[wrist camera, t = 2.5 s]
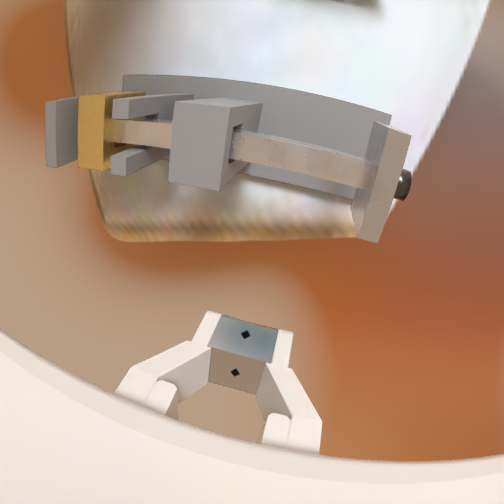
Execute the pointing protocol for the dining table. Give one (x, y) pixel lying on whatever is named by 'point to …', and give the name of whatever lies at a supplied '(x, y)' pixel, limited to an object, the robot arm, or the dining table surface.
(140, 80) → the bearing base
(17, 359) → the robot arm
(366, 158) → the shaft
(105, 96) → the spacer
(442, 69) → the dining table surface
